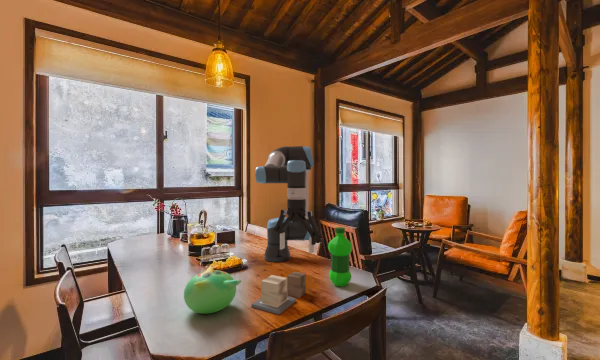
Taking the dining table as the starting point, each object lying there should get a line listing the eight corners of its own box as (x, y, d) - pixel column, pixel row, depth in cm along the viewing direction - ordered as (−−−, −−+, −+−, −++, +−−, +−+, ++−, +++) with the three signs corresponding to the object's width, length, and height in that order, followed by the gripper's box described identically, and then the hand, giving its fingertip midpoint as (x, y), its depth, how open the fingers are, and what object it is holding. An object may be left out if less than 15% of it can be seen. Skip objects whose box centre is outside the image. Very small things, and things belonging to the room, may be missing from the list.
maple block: (271, 295, 113) (271, 275, 112) (287, 298, 109) (287, 278, 109) (261, 302, 106) (261, 280, 106) (277, 306, 103) (277, 284, 103)
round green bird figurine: (228, 296, 115) (228, 260, 114) (243, 313, 100) (243, 272, 100) (180, 307, 105) (179, 268, 105) (190, 328, 91) (189, 282, 90)
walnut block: (294, 290, 121) (294, 271, 120) (305, 292, 118) (305, 273, 118) (287, 295, 116) (287, 275, 116) (299, 298, 113) (299, 277, 113)
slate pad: (270, 294, 116) (270, 291, 116) (295, 301, 110) (295, 297, 110) (251, 307, 105) (251, 303, 105) (279, 314, 100) (279, 311, 100)
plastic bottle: (337, 278, 134) (337, 225, 134) (356, 284, 127) (356, 228, 126) (323, 284, 127) (323, 228, 127) (342, 291, 120) (342, 231, 119)
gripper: (265, 198, 119) (265, 249, 119) (320, 200, 107) (320, 257, 107) (275, 196, 125) (275, 245, 125) (328, 199, 113) (328, 252, 114)
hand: (296, 250), depth 116 cm, fingers open, 13 cm apart
